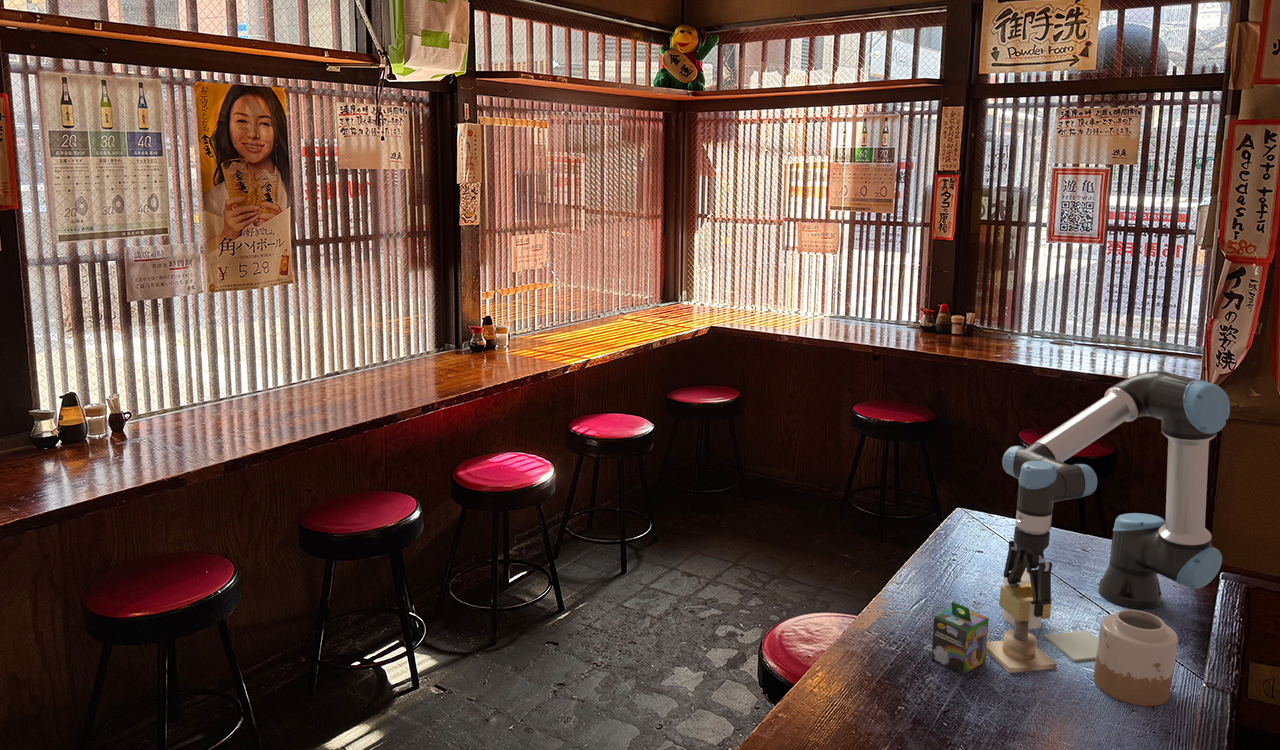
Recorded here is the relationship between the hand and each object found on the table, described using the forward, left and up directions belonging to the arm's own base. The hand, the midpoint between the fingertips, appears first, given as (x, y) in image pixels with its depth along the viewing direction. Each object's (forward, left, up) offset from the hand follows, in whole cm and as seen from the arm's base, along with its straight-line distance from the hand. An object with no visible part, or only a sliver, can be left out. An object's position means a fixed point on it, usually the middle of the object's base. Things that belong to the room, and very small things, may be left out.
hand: (1023, 618), depth 220 cm
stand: (0, 0, -10) cm, 10 cm away
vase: (-17, +16, -10) cm, 26 cm away
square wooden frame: (0, 0, +2) cm, 2 cm away
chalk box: (+15, -1, -10) cm, 18 cm away
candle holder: (-11, -17, -10) cm, 23 cm away
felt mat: (-18, -2, -10) cm, 21 cm away
